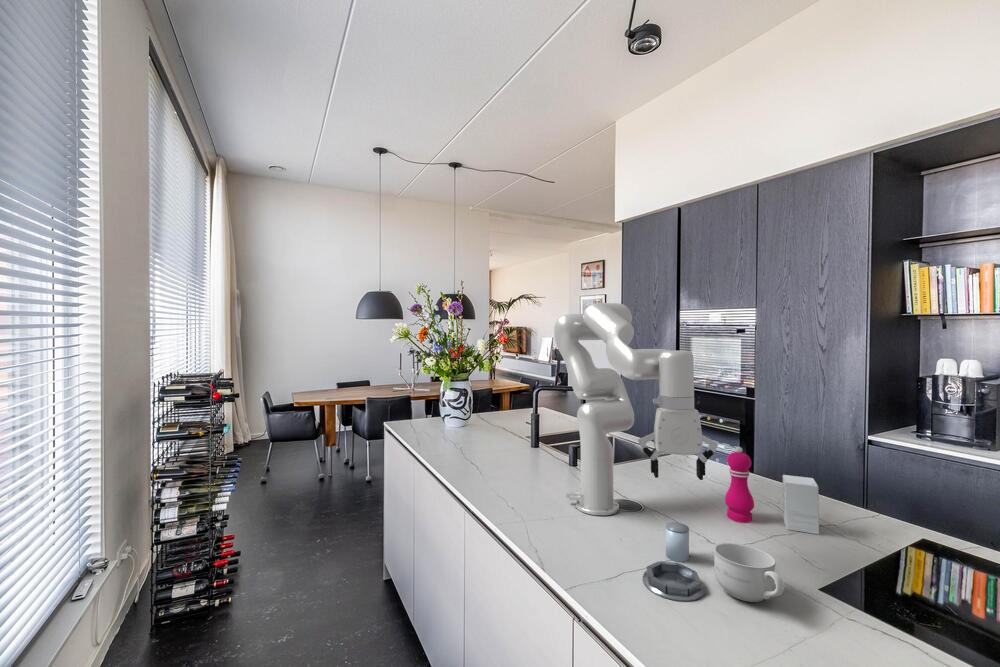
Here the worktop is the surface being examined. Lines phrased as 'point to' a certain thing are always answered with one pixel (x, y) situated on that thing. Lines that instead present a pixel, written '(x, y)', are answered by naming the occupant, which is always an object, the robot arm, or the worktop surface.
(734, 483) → the pepper mill
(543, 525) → the worktop surface
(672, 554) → the grey domed cylinder
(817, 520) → the supplement box
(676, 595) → the faceted metallic bowl
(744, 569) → the teacup
